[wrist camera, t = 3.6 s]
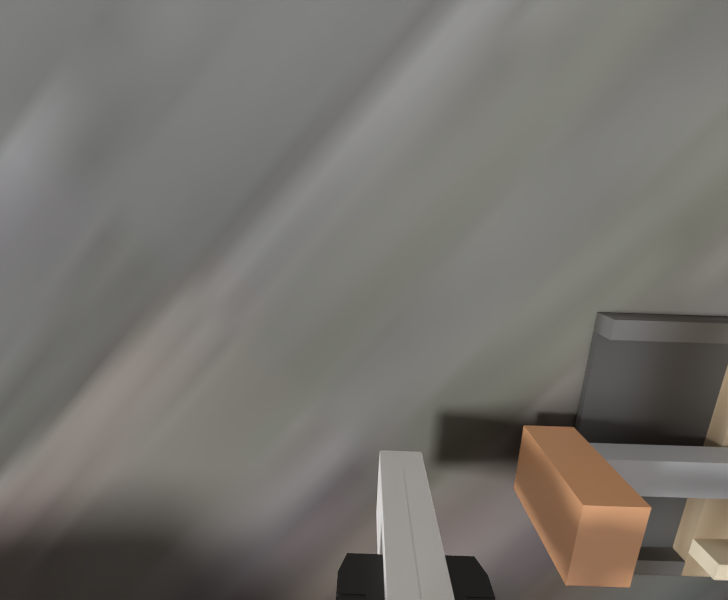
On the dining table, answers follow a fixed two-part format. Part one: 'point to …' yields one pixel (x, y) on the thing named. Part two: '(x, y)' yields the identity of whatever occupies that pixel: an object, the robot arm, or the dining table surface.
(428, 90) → the dining table surface
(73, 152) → the dining table surface
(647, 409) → the cream wooden rail frame
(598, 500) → the orange and grey bar
